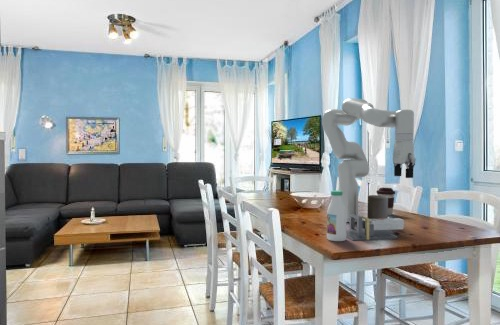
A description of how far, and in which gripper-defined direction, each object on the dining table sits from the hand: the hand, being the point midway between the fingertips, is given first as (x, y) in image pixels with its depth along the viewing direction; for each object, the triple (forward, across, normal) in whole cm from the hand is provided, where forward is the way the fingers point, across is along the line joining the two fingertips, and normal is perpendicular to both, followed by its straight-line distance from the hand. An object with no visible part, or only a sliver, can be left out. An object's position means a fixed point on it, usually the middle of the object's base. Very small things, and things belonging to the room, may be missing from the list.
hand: (403, 176), depth 162 cm
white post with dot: (+22, +5, -10) cm, 24 cm away
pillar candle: (+25, -20, -2) cm, 32 cm away
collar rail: (+25, +5, -18) cm, 31 cm away
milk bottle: (+25, +9, -33) cm, 43 cm away
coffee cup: (+25, -45, +14) cm, 53 cm away
